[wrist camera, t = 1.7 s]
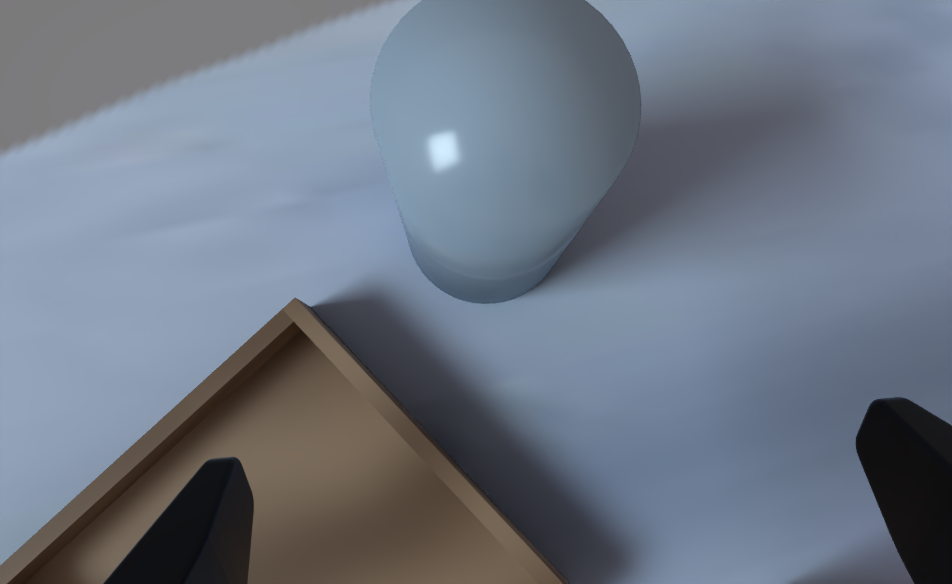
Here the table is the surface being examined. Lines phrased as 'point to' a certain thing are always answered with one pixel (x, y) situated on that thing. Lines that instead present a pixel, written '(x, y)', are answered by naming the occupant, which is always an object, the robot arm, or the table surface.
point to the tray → (297, 479)
